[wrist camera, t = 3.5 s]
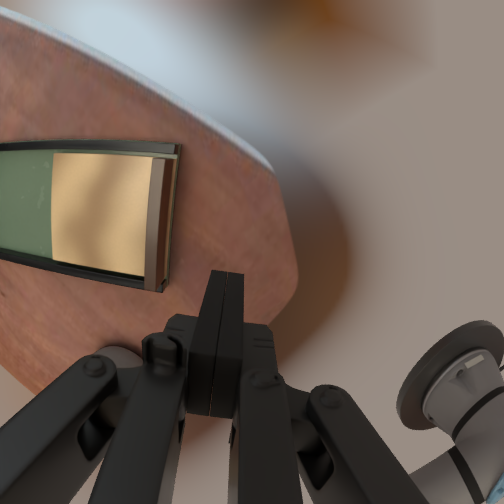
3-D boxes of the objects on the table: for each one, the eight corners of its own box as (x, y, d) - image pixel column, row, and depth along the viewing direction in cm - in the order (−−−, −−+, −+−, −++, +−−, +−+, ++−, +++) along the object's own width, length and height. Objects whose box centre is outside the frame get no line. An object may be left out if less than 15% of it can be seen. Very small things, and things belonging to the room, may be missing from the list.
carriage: (177, 158, 27) (165, 158, 23) (166, 275, 30) (155, 292, 26) (59, 152, 26) (37, 153, 22) (58, 256, 30) (38, 268, 26)
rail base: (181, 144, 28) (175, 142, 25) (168, 284, 32) (162, 294, 30) (-7, 143, 26) (-19, 144, 23) (-7, 250, 30) (-17, 255, 28)
